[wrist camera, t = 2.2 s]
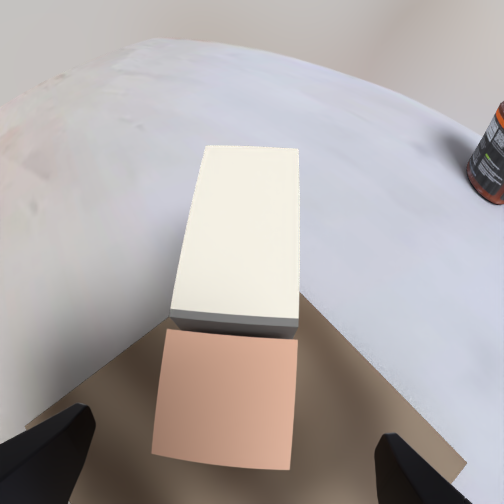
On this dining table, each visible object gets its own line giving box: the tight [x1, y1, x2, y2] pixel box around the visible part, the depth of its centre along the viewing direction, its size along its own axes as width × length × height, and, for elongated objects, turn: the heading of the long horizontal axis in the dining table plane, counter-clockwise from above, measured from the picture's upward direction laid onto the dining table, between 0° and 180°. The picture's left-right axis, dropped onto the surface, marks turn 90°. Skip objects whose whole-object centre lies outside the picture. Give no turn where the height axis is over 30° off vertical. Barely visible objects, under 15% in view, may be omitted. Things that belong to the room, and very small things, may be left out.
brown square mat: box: [25, 292, 467, 504], centre depth 13 cm, size 20×20×1 cm
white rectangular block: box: [169, 146, 300, 339], centre depth 13 cm, size 6×3×10 cm, turn 176°
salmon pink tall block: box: [151, 329, 298, 470], centre depth 11 cm, size 3×3×10 cm
